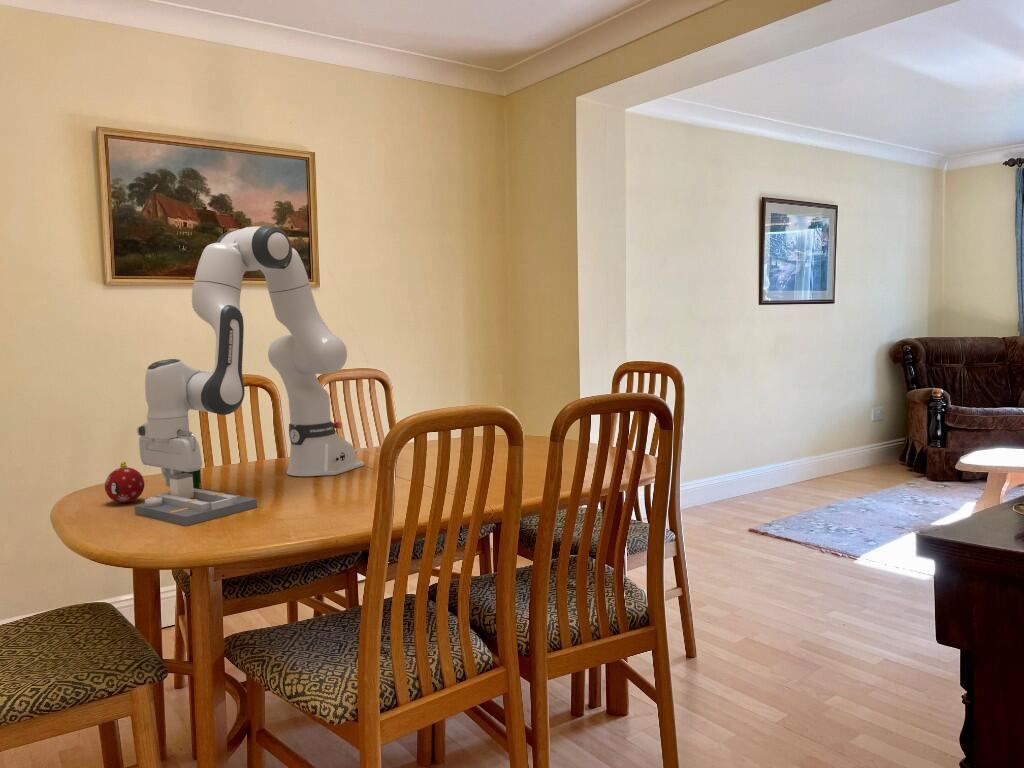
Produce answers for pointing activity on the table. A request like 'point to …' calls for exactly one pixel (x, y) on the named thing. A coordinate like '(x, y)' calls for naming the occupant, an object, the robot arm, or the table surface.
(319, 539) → the table surface
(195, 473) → the beer can
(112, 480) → the christmas ornament
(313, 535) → the table surface
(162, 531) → the table surface
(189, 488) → the fader tab
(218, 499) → the console
